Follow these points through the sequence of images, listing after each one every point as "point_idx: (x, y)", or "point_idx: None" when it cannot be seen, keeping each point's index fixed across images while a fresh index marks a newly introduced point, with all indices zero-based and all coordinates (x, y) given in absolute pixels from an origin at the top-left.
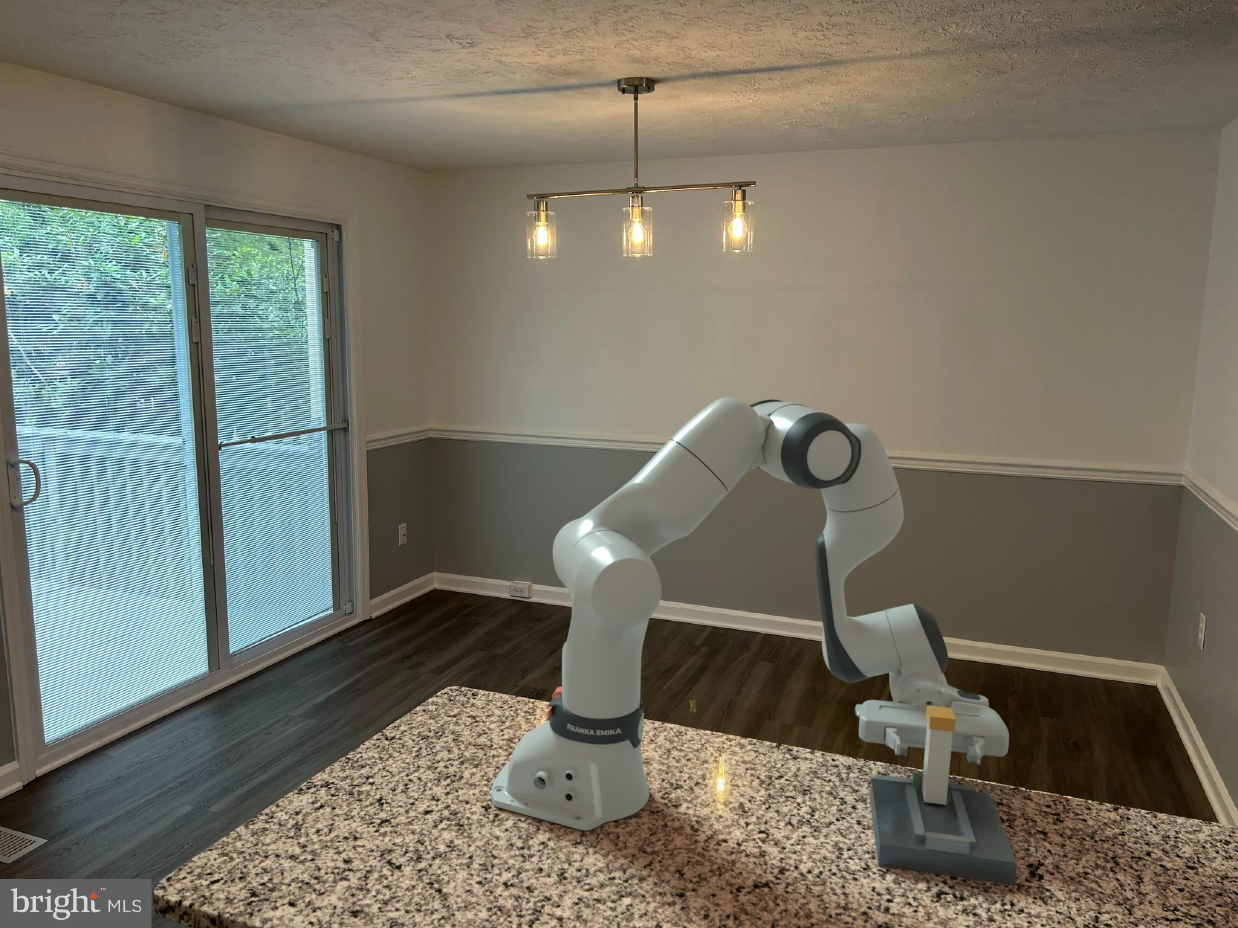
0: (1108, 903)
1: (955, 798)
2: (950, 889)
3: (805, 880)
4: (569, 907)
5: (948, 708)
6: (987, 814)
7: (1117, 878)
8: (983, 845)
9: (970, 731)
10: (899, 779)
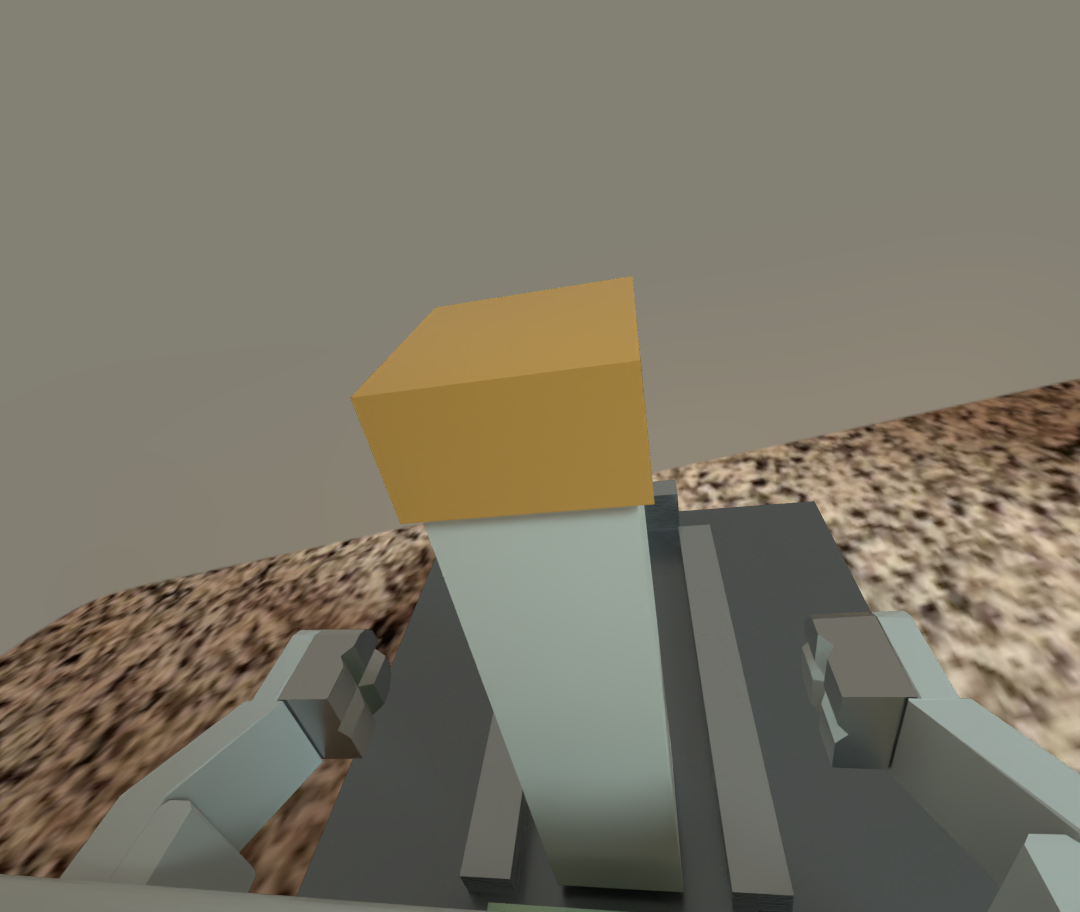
0: (288, 580)
1: (511, 784)
2: None
3: (979, 481)
4: None
5: (397, 381)
6: (405, 738)
7: (180, 665)
8: None
9: (126, 893)
10: None
